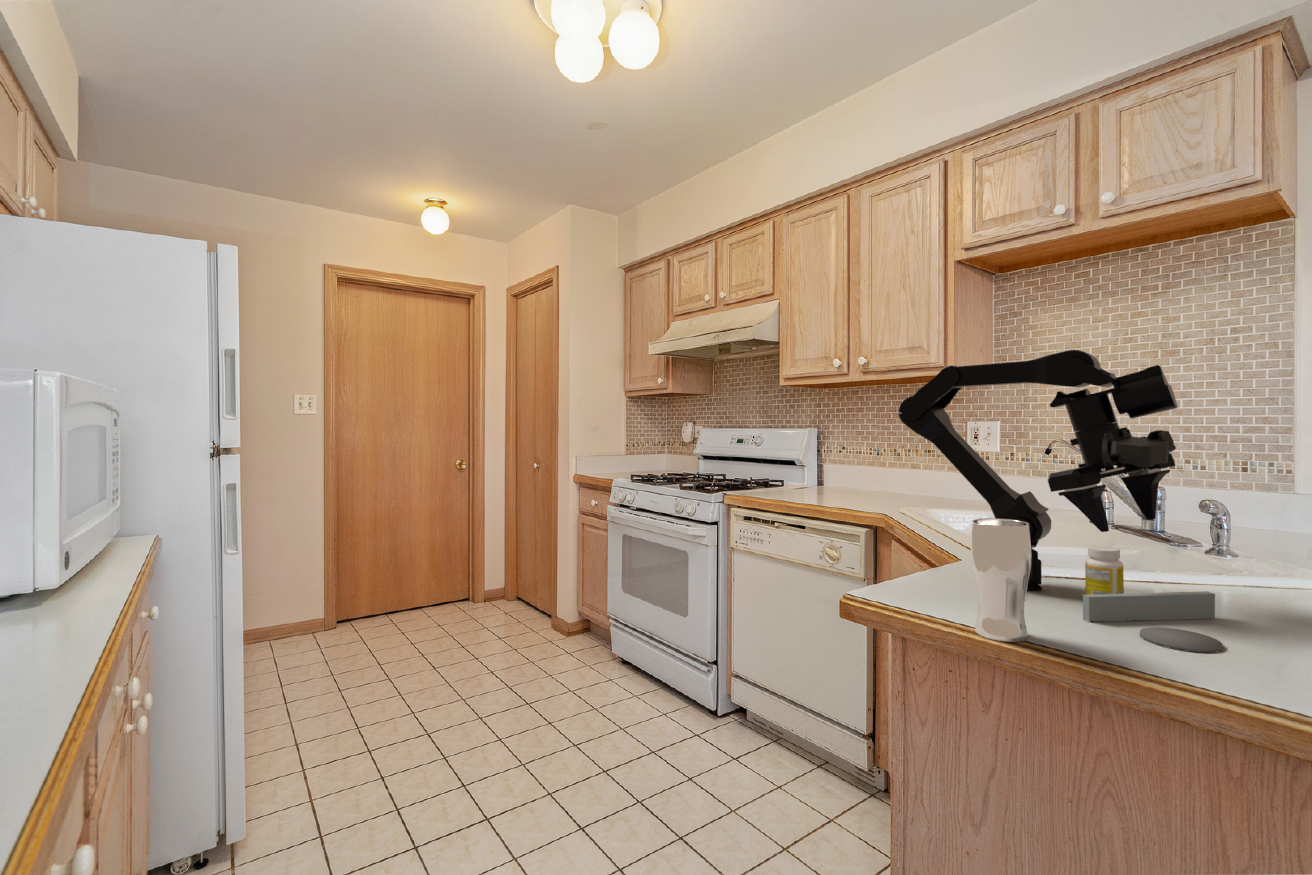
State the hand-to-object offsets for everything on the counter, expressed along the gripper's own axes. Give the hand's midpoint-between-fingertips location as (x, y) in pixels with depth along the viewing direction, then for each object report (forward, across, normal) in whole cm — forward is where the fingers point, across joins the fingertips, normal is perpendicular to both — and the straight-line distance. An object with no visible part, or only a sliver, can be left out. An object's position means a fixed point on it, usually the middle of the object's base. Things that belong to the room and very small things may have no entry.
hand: (1128, 525), depth 93 cm
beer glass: (+9, -30, -3) cm, 32 cm away
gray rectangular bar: (+12, -6, -4) cm, 14 cm away
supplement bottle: (+11, -4, +4) cm, 13 cm away
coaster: (+13, -11, -11) cm, 21 cm away
